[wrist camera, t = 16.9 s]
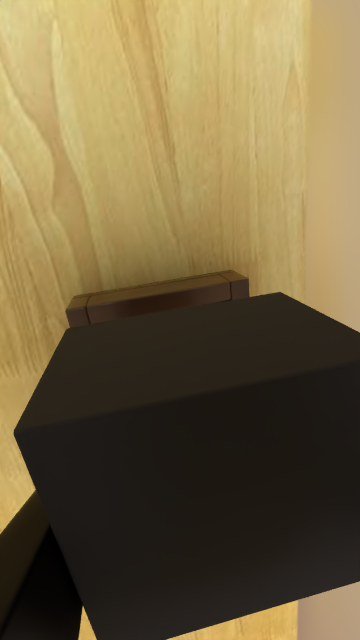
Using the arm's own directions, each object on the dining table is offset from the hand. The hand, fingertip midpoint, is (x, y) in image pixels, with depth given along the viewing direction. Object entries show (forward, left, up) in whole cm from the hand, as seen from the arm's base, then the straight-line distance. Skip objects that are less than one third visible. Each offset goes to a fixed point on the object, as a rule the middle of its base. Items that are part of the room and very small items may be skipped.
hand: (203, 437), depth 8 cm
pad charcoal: (0, 0, -2) cm, 2 cm away
